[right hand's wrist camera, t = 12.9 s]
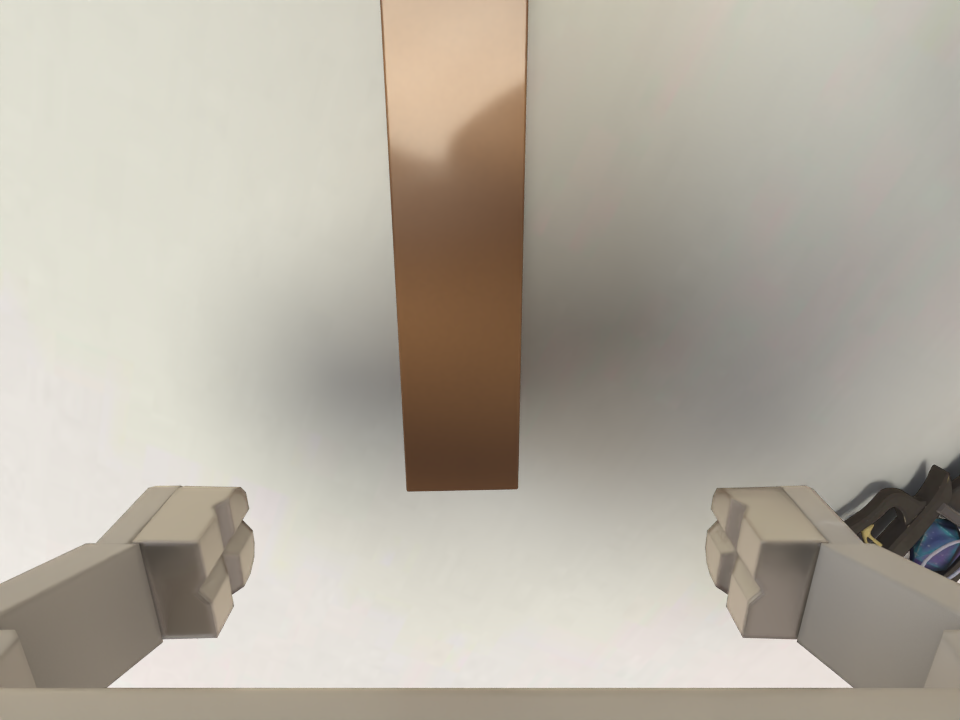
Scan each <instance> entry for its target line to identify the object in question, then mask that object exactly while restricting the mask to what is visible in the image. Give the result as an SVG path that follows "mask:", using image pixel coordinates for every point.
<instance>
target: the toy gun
mask: <svg viewBox="0 0 960 720" xmlns="http://www.w3.org/2000/svg"><path fill="white" fill-rule="evenodd" d="M892 507H895V509H896V512H897V517H896V518H895V519H894V520H893V521H892V522H891V523H890V524H889V526H888V527H887V528H886V529H885V530H884V531H883V532H882V533H881V534H880V535H879V536H878V537H877V539H875V538H873V537H872V536H871V534H870V533H871V530H872V528H873V527H874V525H873V523H874V522H876V521H877V520H878V519H880V518H881V517H882V516H883V515H884V514H885V513H886V512H887V511H888V510H889V509H890V508H892ZM939 515H942V516H943V517H945V518H946V519H938V518H937V517H938V516H939ZM844 522H845V524H846V525H847V526H848V527H849V528H850V529H851V530H852V531H853V532H854V533H855V534H856V535H857V534H858V533H860V532H861V534H862V538H863V540H864V543H868V541H867V537H869V538H870V539H871V540H872V541H873V542H872V543H874V544H876V545H878V546H880V547H883V548H885V549H887V550H889V551H891V552H893V553H895V554H897V555H900V556H902V557H904V556H905V555H906V554H907V552H908V551H909V550H910V561H912V562H914V563H916V564H919V565H921V566H923V567H925V568H927V569H929V570H931V571H933V572H936V573H938V574H940V575H942V576H944V577H946V578H948V579H950V580H953V581H955V582H957V581H958V580H959V579H960V531H959V529H960V475H959V476H958V477H957V478H955V479H954V480H953V481H952V482H951V479H950V474H949V472H947V471H945V470H943V469H942V468H940V467H938V466H936V465H933V466H932V467H931V470H930V472H929V474H928V476H927V479H926V480H925V482H924V484H923V485H922V487H921V488H920V490H919V491H918V493H917V494H916V495H915V496H910V495H908V494H907V493H905V492H904V491H902V490H900V489H896V488H886V489H883V490H881V491H880V492H878V493H877V495H876V496H875V497H874V498H873V499H872V500H871V501H870V502H869V503H868V504H867V505H866V506H865V507H864V508H863V509H861V510H860V511H859V512H858V513H856V514H855V515H853V516H852V517H850V518H849V519H847V520H845V521H844Z"/></svg>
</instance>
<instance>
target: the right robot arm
mask: <svg viewBox="0 0 960 720" xmlns="http://www.w3.org/2000/svg"><path fill="white" fill-rule="evenodd" d="M248 510H249V505H248V500H247V496H246V492H245V491H244V490H243V489H242V488H241V487H211V486H154V487H150V488H148V489H147V490H146V491H145V492H144V493H143V494H142V495H141V496H140V497H139V498H138V499H137V500H136V501H135V502H134V504H133V505H132V506H131V507H130V508H129V509H128V510H127V511H126V512H125V513H124V514H123V515H122V516H121V517H120V518H119V519H118V520H117V521H116V523H115V524H114V525H113V526H112V527H111V528H110V529H109V530H108V531H107V532H106V533H105V534H104V535H103V536H102V537H101V538H100V539H99V540H98V542H97V543H86V544H84V545H82V546H80V547H77V548H75V549H73V550H71V551H69V552H67V553H65V554H63V555H60V556H58V557H56V558H54V559H52V560H50V561H48V562H46V563H43V564H41V565H39V566H37V567H35V568H33V569H31V570H29V571H26V572H24V573H22V574H20V575H18V576H16V577H14V578H11V579H9V580H7V581H5V582H3V583H1V584H0V720H960V584H959V583H957V582H955V581H953V580H950V579H948V578H946V577H944V576H942V575H940V574H938V573H936V572H933V571H931V570H929V569H927V568H925V567H923V566H921V565H919V564H916V563H914V562H912V561H910V560H908V559H906V558H904V557H902V556H900V555H897V554H895V553H893V552H891V551H889V550H887V549H885V548H883V547H880V546H878V545H876V544H874V543H863V541H862V540H861V539H860V538H859V537H858V536H857V535H856V534H855V533H854V532H853V531H852V530H851V529H850V528H849V527H848V526H847V525H846V524H845V522H844V521H843V520H842V519H841V518H840V517H839V516H838V515H837V514H836V513H835V512H834V511H833V510H832V509H831V508H830V507H829V506H828V504H827V503H826V502H825V501H824V500H823V499H822V498H821V497H820V496H819V495H818V494H817V493H816V492H815V491H814V490H813V489H812V488H810V487H807V486H805V485H801V486H776V487H742V488H717V489H716V491H715V493H714V495H713V499H712V505H711V510H712V512H713V513H714V515H715V517H716V518H717V521H716V522H715V523H714V524H713V525H712V526H711V527H710V528H709V529H708V530H707V537H706V545H705V550H706V561H707V566H708V569H709V573H710V576H711V578H712V580H713V582H714V584H715V586H716V587H718V588H719V589H720V590H722V591H723V592H725V593H726V594H728V598H727V604H726V607H727V609H728V611H729V613H730V614H731V616H732V618H733V620H734V622H735V624H736V626H737V628H738V630H739V631H740V633H741V635H742V637H743V638H771V639H797V642H798V643H799V644H800V645H802V646H803V647H804V648H805V649H807V650H808V651H809V652H810V653H811V654H813V655H814V656H815V657H816V658H818V659H819V660H820V661H821V662H823V663H824V664H825V665H826V666H827V667H829V668H830V669H831V670H832V671H834V672H835V673H836V674H837V675H839V676H840V677H841V678H842V679H843V680H845V681H846V682H847V683H848V684H850V685H851V686H852V687H853V688H107V687H108V686H109V685H111V684H112V683H113V682H114V681H115V680H117V679H118V678H119V677H120V676H122V675H123V674H124V673H125V672H127V671H128V670H129V669H130V668H132V667H133V666H134V665H135V664H136V663H138V662H139V661H140V660H141V659H143V658H144V657H145V656H146V655H148V654H149V653H150V652H151V651H153V650H154V649H155V648H156V647H157V646H159V645H160V644H161V643H162V642H163V639H188V638H217V637H218V635H219V633H220V632H221V630H222V628H223V626H224V624H225V622H226V620H227V618H228V616H229V615H230V613H231V611H232V609H233V607H234V604H233V598H232V594H234V593H235V592H237V591H238V590H240V589H241V588H242V587H244V586H245V584H246V582H247V580H248V578H249V576H250V574H251V569H252V565H253V560H254V546H255V542H254V536H253V530H252V529H251V528H250V527H249V526H248V525H247V524H246V523H245V522H244V521H243V518H244V517H245V515H246V513H247V512H248Z"/></svg>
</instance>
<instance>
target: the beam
mask: <svg viewBox="0 0 960 720" xmlns="http://www.w3.org/2000/svg"><path fill="white" fill-rule="evenodd" d="M380 7H381V25H382V44H383V62H384V81H385V99H386V118H387V136H388V155H389V173H390V192H391V211H392V229H393V248H394V266H395V285H396V303H397V322H398V340H399V359H400V377H401V396H402V414H403V433H404V451H405V470H406V488H407V491H408V492H409V491H456V490H503V489H518V468H519V421H520V373H521V326H522V279H523V231H524V184H525V137H526V89H527V42H528V0H380Z"/></svg>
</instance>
